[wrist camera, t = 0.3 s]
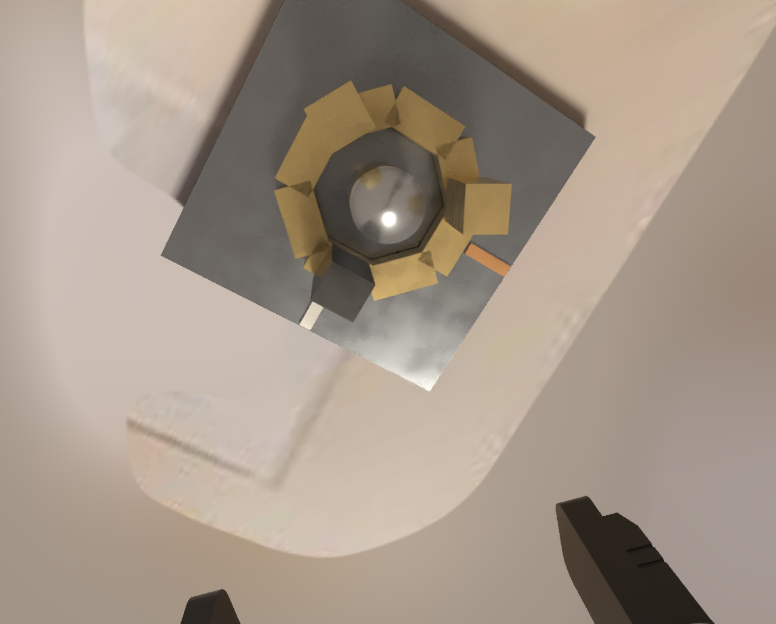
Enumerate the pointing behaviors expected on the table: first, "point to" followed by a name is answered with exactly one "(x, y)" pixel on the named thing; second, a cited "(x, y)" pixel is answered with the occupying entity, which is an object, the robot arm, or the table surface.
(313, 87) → the base plate
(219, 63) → the table surface
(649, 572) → the robot arm
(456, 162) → the gold octagonal ring
